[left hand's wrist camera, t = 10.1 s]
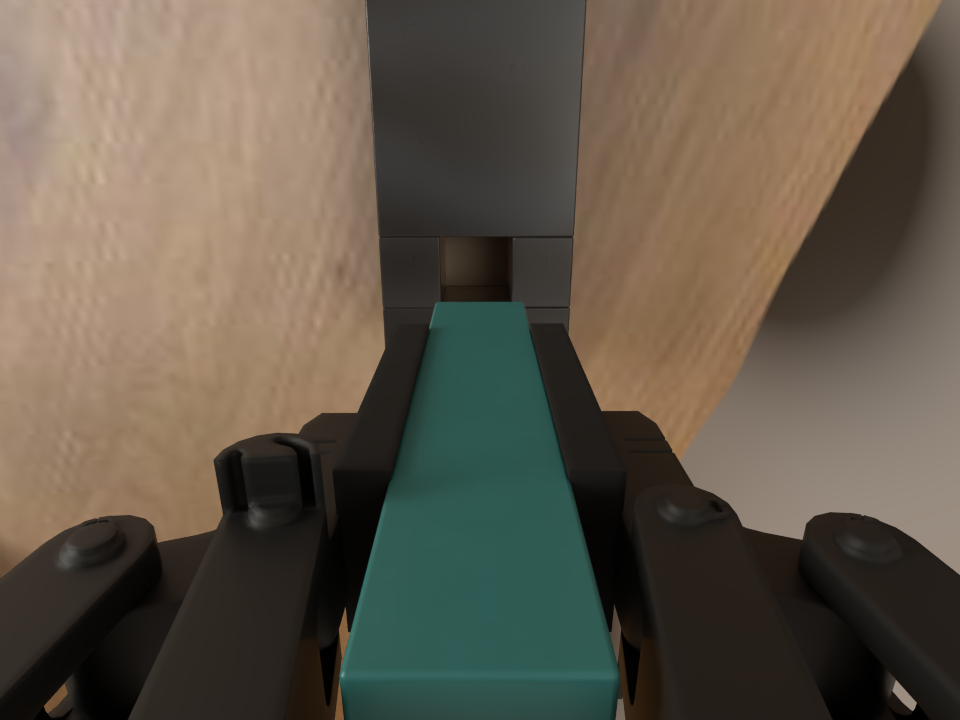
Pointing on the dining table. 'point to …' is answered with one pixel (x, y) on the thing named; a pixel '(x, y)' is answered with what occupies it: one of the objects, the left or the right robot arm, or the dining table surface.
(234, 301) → the dining table surface
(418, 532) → the peg
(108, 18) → the dining table surface
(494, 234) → the peg board
